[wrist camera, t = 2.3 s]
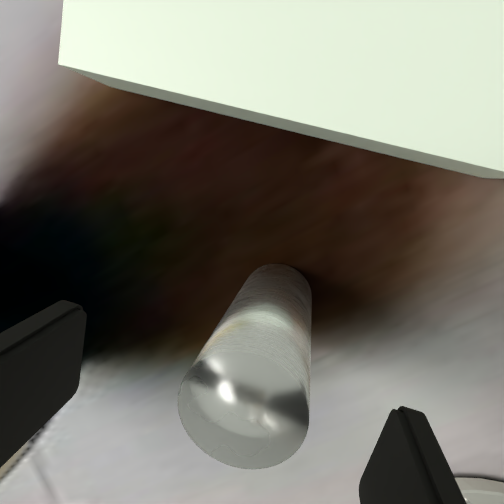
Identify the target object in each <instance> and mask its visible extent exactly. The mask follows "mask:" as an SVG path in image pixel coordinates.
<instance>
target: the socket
mask: <svg viewBox="0 0 504 504" xmlns="http://www.w3.org/2000/svg"><path fill="white" fill-rule="evenodd" d="M58 64H59V65H61V66H64V67H66V68H68V69H70V70H73V71H75V72H77V73H80V74H82V75H84V76H87V77H89V78H91V79H94V80H96V81H98V82H101V83H103V84H105V85H108V86H110V87H113V88H117V89H121V90H125V91H129V92H133V93H137V94H142V95H146V96H150V97H154V98H158V99H162V100H166V101H170V102H174V103H178V104H182V105H187V106H191V107H195V108H199V109H203V110H207V111H211V112H215V113H219V114H223V115H227V116H231V117H236V118H240V119H244V120H248V121H252V122H256V123H260V124H264V125H268V126H272V127H276V128H280V129H285V130H289V131H293V132H297V133H301V134H305V135H309V136H313V137H317V138H321V139H325V140H329V141H334V142H338V143H342V144H346V145H350V146H354V147H358V148H362V149H366V150H370V151H374V152H378V153H383V154H387V155H391V156H395V157H399V158H403V159H407V160H411V161H415V162H419V163H423V164H428V165H432V166H436V167H440V168H444V169H448V170H452V171H456V172H460V173H464V174H468V175H472V176H477V177H481V178H500V179H504V0H64V3H63V15H62V27H61V38H60V50H59V62H58Z"/></svg>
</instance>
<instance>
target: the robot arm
mask: <svg viewBox="0 0 504 504" xmlns="http://www.w3.org/2000/svg"><path fill="white" fill-rule="evenodd" d="M86 319H87V314H86V312H84V311H83V307H82V306H81V305H78V304H75V303H72V302H69V301H66V300H61V301H59V302H57V303H55V304H53V305H51V306H49V307H48V308H46V309H44V310H42V311H40V312H38V313H37V314H35V315H33V316H31V317H29V318H27V319H26V320H24V321H22V322H20V323H18V324H16V325H15V326H13V327H11V328H9V329H7V330H5V331H4V332H2V333H0V467H1V466H2V465H4V464H5V463H6V462H7V461H8V460H9V459H10V458H11V457H12V456H13V455H14V454H15V453H16V452H17V451H18V450H19V449H20V448H21V447H22V446H23V445H24V444H25V443H26V442H27V441H28V440H29V439H30V438H31V437H32V436H33V435H34V434H35V433H36V432H37V431H38V430H39V429H40V428H41V427H42V426H43V425H44V424H45V423H46V422H47V421H48V420H49V419H50V418H51V417H52V416H53V415H54V414H55V413H57V412H58V411H59V410H60V409H61V408H62V407H63V406H64V405H65V404H66V403H67V402H68V401H69V400H70V399H71V398H72V397H73V396H74V394H75V393H76V391H77V389H78V386H79V379H80V371H81V362H82V353H83V345H84V336H85V327H86ZM359 497H360V504H504V483H503V482H498V481H493V480H487V479H482V478H461V477H457V478H454V476H453V473H452V471H451V469H450V467H449V465H448V463H447V461H446V459H445V456H444V454H443V452H442V450H441V448H440V446H439V444H438V441H437V439H436V437H435V435H434V433H433V431H432V429H431V427H430V424H429V422H428V420H427V418H426V416H425V414H424V413H422V412H420V411H416V410H413V409H410V408H407V407H404V406H401V407H399V408H398V410H395V409H393V410H392V411H391V412H390V414H389V416H388V419H387V421H386V423H385V425H384V428H383V430H382V432H381V435H380V437H379V439H378V441H377V444H376V446H375V448H374V450H373V453H372V455H371V457H370V459H369V462H368V464H367V466H366V468H365V471H364V473H363V475H362V478H361V480H360V484H359Z"/></svg>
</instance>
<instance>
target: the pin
mask: <svg viewBox="0 0 504 504" xmlns="http://www.w3.org/2000/svg"><path fill="white" fill-rule="evenodd" d="M311 311H312V293H311V289H310V286H309V283H308V281H307V280H306V278H305V277H304V276H303V275H302V274H301V273H300V272H299V271H298V270H296V269H295V268H293V267H291V266H288V265H285V264H279V263H272V264H267V265H264V266H262V267H259V268H258V269H256V270H255V271H254V272H253V273H252V274H251V275H250V276H249V278H248V279H247V281H246V282H245V284H244V285H243V287H242V288H241V290H240V291H239V293H238V295H237V296H236V298H235V299H234V301H233V302H232V304H231V305H230V307H229V309H228V310H227V312H226V313H225V315H224V316H223V318H222V319H221V321H220V322H219V324H218V326H217V327H216V329H215V330H214V332H213V333H212V335H211V336H210V338H209V340H208V341H207V343H206V344H205V346H204V347H203V349H202V350H201V352H200V354H199V355H198V357H197V358H196V360H195V361H194V363H193V364H192V366H191V367H190V369H189V371H188V372H187V374H186V375H185V377H184V379H183V381H182V383H181V385H180V389H179V393H178V410H179V415H180V419H181V422H182V424H183V426H184V428H185V430H186V432H187V434H188V435H189V436H190V438H191V439H192V440H193V442H194V443H195V444H196V445H197V446H198V447H199V448H200V449H201V450H203V451H204V452H205V453H206V454H208V455H209V456H211V457H212V458H214V459H216V460H218V461H220V462H222V463H224V464H227V465H230V466H233V467H238V468H244V469H262V468H268V467H271V466H275V465H277V464H279V463H282V462H283V461H285V460H287V459H288V458H290V457H291V456H292V455H293V454H294V453H295V452H296V451H297V450H298V449H299V448H300V446H301V445H302V443H303V441H304V439H305V437H306V434H307V430H308V425H309V397H310V354H311Z"/></svg>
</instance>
